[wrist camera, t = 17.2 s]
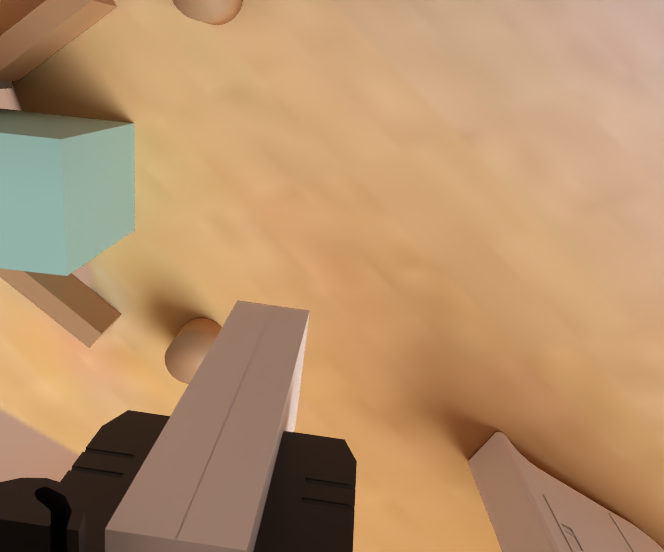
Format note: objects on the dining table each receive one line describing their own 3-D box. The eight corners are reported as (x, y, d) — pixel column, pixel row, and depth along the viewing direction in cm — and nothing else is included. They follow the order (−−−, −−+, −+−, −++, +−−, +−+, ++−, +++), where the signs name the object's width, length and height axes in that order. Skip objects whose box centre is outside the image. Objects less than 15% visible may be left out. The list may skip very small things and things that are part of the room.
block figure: (-116, -72, 25) (-163, -86, 23) (244, -35, 25) (232, -46, 23) (-66, 330, 31) (-100, 350, 29) (226, 363, 31) (214, 386, 29)
